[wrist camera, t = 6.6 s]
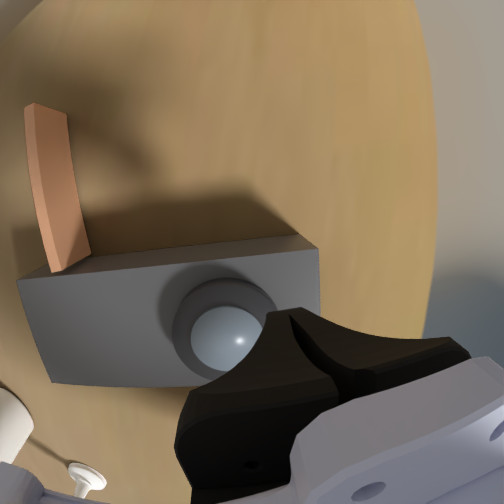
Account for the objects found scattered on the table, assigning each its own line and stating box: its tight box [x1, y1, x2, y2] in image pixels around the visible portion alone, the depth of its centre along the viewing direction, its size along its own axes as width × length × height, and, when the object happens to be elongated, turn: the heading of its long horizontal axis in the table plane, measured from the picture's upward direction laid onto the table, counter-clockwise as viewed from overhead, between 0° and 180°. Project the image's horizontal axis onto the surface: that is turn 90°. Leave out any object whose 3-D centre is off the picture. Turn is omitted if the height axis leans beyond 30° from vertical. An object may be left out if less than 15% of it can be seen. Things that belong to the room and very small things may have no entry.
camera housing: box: [16, 234, 320, 387], centre depth 17 cm, size 8×18×6 cm, turn 95°
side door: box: [24, 103, 91, 273], centre depth 16 cm, size 1×10×4 cm, turn 11°
